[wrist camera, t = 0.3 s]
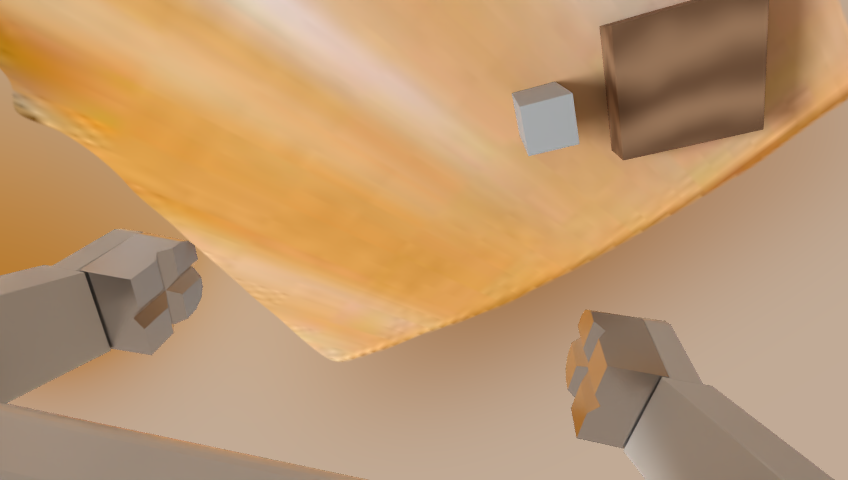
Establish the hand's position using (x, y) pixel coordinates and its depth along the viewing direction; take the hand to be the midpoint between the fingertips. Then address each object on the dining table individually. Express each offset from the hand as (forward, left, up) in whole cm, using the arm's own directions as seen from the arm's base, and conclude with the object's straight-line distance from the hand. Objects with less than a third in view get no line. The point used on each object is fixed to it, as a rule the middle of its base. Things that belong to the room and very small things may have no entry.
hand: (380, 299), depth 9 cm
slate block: (+3, +10, -47) cm, 48 cm away
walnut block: (-2, +24, -47) cm, 53 cm away
